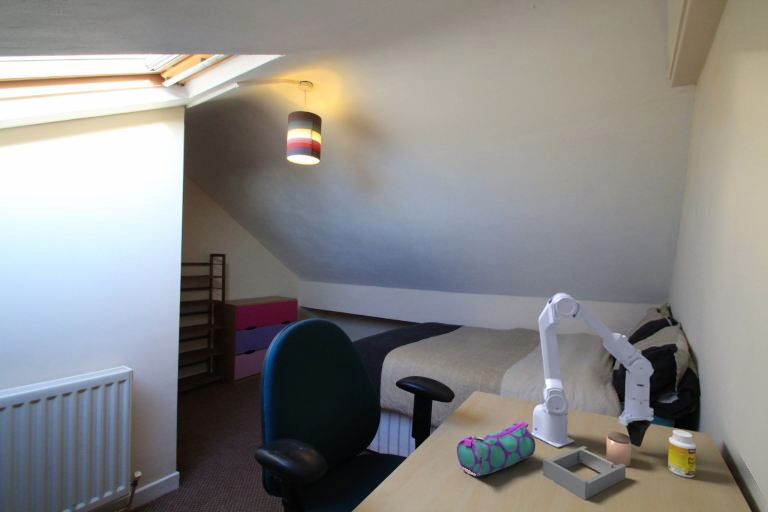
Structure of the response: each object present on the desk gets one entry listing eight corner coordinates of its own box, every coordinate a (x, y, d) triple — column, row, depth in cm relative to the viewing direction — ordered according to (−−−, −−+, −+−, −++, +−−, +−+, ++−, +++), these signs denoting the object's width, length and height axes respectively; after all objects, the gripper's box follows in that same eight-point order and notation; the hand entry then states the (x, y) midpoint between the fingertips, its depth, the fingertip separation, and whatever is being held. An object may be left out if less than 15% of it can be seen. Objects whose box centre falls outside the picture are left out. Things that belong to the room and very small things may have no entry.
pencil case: (480, 486, 91) (480, 446, 91) (455, 468, 99) (456, 431, 99) (537, 463, 102) (537, 427, 102) (510, 448, 109) (511, 415, 109)
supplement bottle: (690, 481, 95) (691, 440, 95) (664, 470, 99) (665, 431, 99) (698, 474, 98) (699, 434, 98) (673, 464, 102) (673, 426, 102)
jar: (601, 458, 104) (602, 434, 104) (613, 453, 107) (613, 429, 107) (623, 468, 100) (623, 443, 100) (634, 463, 102) (635, 438, 102)
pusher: (579, 461, 102) (579, 448, 102) (581, 460, 102) (581, 448, 102) (611, 478, 94) (611, 464, 94) (613, 476, 95) (613, 463, 95)
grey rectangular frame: (543, 474, 96) (543, 459, 96) (583, 457, 105) (583, 443, 105) (584, 499, 87) (585, 482, 87) (625, 478, 95) (625, 462, 95)
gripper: (638, 407, 101) (637, 458, 101) (665, 397, 108) (664, 444, 108) (611, 397, 107) (610, 446, 107) (638, 389, 114) (637, 434, 114)
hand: (635, 444), depth 108 cm, fingers closed
